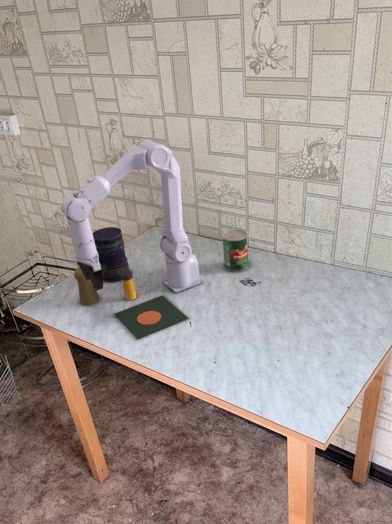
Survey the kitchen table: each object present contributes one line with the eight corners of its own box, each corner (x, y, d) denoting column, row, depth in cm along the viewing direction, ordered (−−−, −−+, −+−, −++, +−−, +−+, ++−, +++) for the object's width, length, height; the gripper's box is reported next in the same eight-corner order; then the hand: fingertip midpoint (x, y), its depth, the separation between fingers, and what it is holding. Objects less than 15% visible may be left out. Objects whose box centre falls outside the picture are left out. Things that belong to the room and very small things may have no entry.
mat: (162, 296, 156) (162, 294, 156) (188, 318, 144) (188, 317, 144) (114, 314, 150) (114, 312, 150) (137, 339, 139) (137, 337, 138)
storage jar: (136, 271, 171) (127, 229, 162) (117, 284, 165) (108, 242, 156) (113, 265, 176) (104, 225, 167) (94, 279, 170) (84, 237, 161)
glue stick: (133, 293, 159) (128, 269, 154) (138, 297, 157) (133, 273, 152) (123, 297, 158) (118, 272, 153) (128, 301, 156) (122, 277, 151)
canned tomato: (232, 258, 171) (230, 228, 165) (253, 263, 167) (251, 232, 160) (219, 269, 166) (217, 237, 160) (240, 274, 162) (238, 242, 156)
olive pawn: (95, 305, 156) (87, 273, 149) (77, 305, 157) (68, 273, 150) (102, 295, 160) (94, 264, 154) (84, 295, 162) (76, 264, 155)
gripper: (60, 235, 142) (73, 278, 150) (77, 253, 131) (90, 298, 139) (84, 228, 144) (95, 271, 152) (103, 245, 133) (113, 290, 142)
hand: (94, 283), depth 146 cm, fingers open, 7 cm apart
